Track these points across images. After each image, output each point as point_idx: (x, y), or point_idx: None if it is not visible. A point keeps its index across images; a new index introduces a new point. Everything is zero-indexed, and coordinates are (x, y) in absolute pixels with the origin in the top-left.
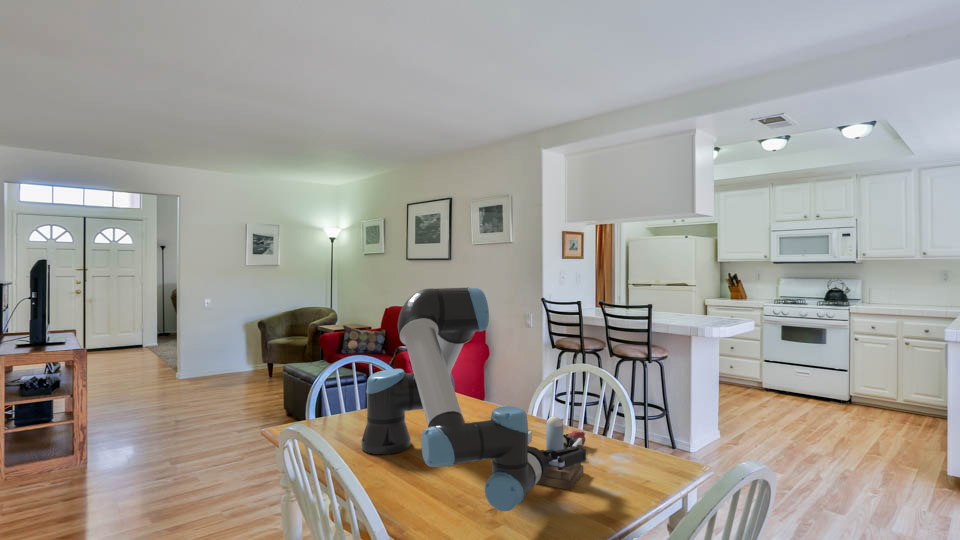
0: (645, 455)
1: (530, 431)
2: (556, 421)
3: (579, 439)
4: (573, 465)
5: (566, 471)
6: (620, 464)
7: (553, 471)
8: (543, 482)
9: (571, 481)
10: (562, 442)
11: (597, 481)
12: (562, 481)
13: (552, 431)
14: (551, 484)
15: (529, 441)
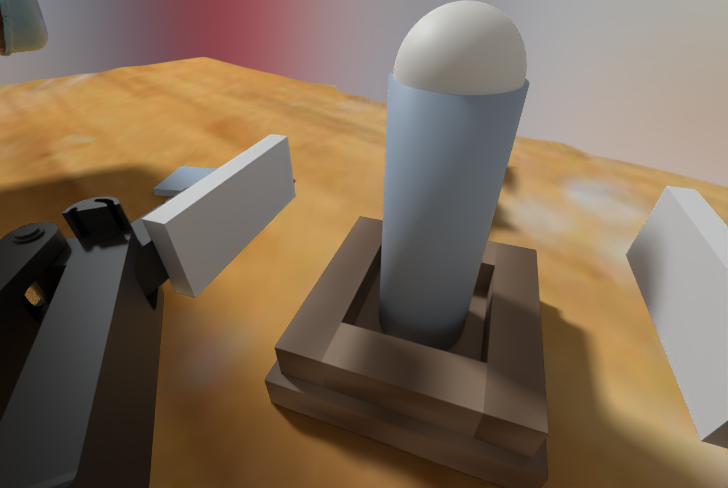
0: (662, 186)
1: (277, 138)
2: (491, 41)
3: (700, 208)
4: (532, 322)
5: (521, 411)
6: (625, 231)
7: (429, 401)
8: (363, 430)
9: (546, 464)
10: (495, 208)
11: (620, 365)
12: (485, 459)
13: (443, 138)
14: (410, 447)
15: (271, 206)
